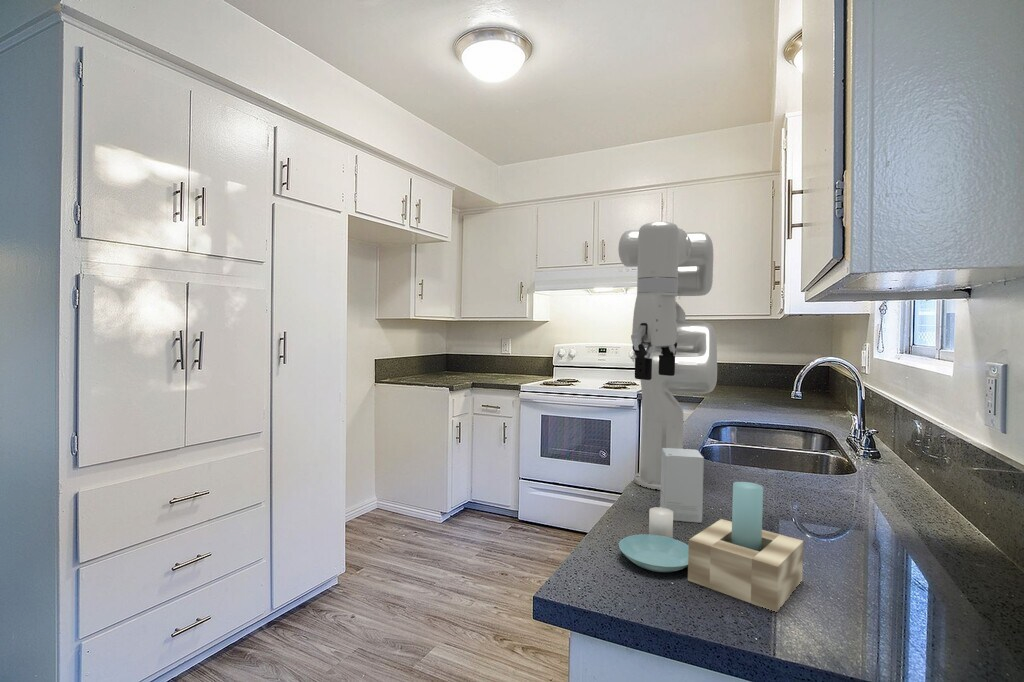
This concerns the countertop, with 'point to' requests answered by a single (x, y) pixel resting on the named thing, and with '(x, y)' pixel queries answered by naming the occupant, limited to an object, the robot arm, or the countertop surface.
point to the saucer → (655, 552)
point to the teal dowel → (747, 515)
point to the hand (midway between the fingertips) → (655, 377)
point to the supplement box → (682, 483)
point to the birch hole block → (746, 565)
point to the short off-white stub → (661, 522)
